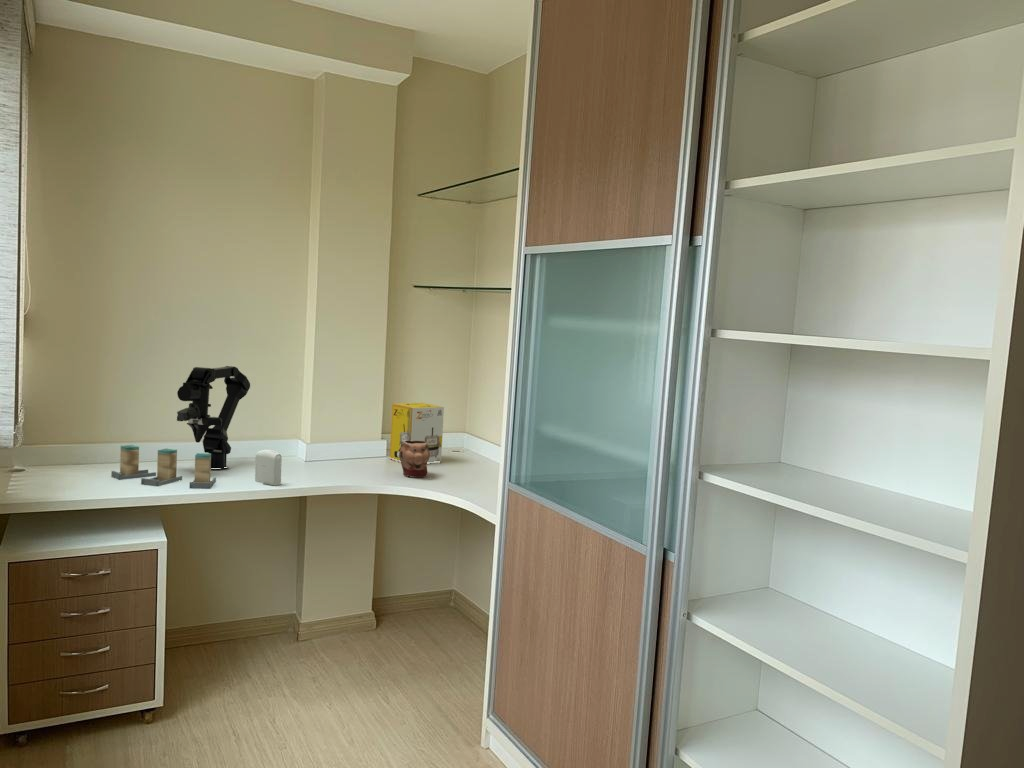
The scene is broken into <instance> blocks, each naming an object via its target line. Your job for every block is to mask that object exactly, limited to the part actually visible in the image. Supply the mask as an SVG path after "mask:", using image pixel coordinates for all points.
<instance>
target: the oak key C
mask: <svg viewBox="0 0 1024 768" xmlns="http://www.w3.org/2000/svg"><path fill="white" fill-rule="evenodd" d="M211 470H212V469H211V453H205V452H203V453H200V452H198V453H196V454H195V455H194V479H195V481H194V480H193V481H194V482H210V481H211Z"/></svg>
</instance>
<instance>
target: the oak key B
mask: <svg viewBox="0 0 1024 768" xmlns="http://www.w3.org/2000/svg"><path fill="white" fill-rule="evenodd" d="M177 464H178V449H173V448H163V449H158V450H157V468H156V471H157V472H156V477H157V480H160V481H164V480H168V479H172V478H176V477H177V471H178V470H177V467H178V466H177Z"/></svg>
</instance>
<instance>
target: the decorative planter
mask: <svg viewBox="0 0 1024 768" xmlns="http://www.w3.org/2000/svg"><path fill="white" fill-rule="evenodd" d="M429 458H430V452H429V449H428V446H427V443H426V442H424V441H404V442H403V444H402V448H401V449H400V452H399V459H400V461H401V463H400V464H401V465H400V466H401V469H402V471H403V473H402V474H403V476H405V477H408V476H410V477H409V478H424V477H423V476H426V475H428V464H427V462H428V460H429ZM426 477H427V476H426Z"/></svg>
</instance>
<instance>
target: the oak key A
mask: <svg viewBox="0 0 1024 768" xmlns="http://www.w3.org/2000/svg"><path fill="white" fill-rule="evenodd" d="M119 459H120V460H119V463H120V464H119V472H120V473H121V474H122V476H124V475H134V474H138V470H140V468H139V467H140V465H139V464H140V463H139V460H140V446H138V445H134V444H127V445H120V458H119Z"/></svg>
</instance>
